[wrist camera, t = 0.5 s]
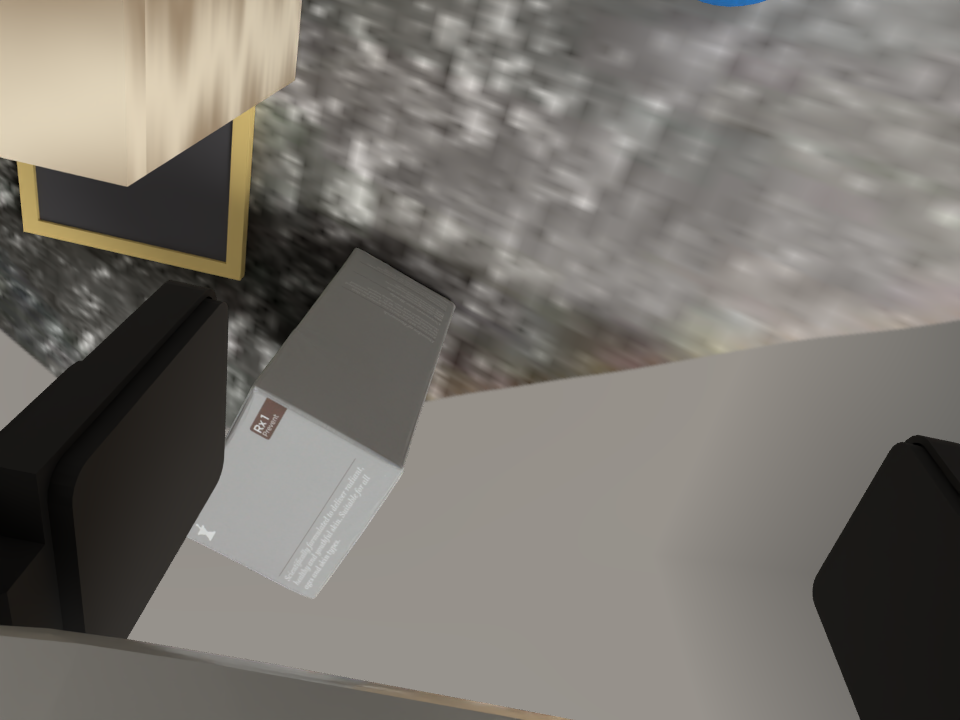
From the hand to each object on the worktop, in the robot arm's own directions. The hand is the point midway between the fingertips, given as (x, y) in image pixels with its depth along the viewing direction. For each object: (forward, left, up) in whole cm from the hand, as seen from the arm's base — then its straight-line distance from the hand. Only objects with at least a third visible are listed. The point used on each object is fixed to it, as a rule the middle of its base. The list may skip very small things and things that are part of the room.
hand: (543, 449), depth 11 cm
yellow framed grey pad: (+9, -19, -28) cm, 35 cm away
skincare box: (+15, -6, -29) cm, 33 cm away
